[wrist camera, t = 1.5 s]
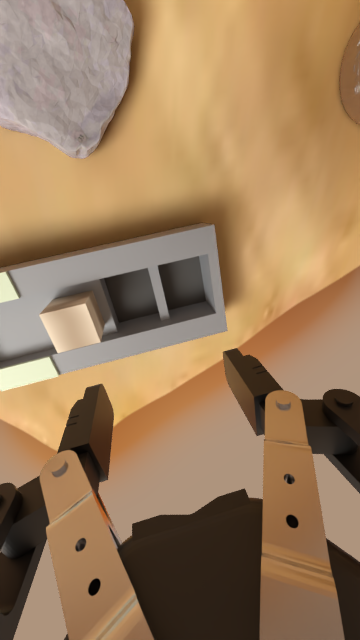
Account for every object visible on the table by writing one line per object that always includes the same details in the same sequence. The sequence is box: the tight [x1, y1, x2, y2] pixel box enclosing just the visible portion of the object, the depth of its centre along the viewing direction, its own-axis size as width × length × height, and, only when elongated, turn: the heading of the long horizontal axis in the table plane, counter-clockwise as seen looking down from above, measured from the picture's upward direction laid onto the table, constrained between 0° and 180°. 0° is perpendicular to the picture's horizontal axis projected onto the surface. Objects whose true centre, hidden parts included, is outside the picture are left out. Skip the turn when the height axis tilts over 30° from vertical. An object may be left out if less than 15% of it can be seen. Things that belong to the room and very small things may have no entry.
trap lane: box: [0, 223, 227, 391], centre depth 26 cm, size 26×12×5 cm, turn 101°
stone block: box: [0, 0, 134, 159], centre depth 19 cm, size 12×5×10 cm
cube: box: [39, 290, 105, 353], centre depth 24 cm, size 4×4×4 cm
